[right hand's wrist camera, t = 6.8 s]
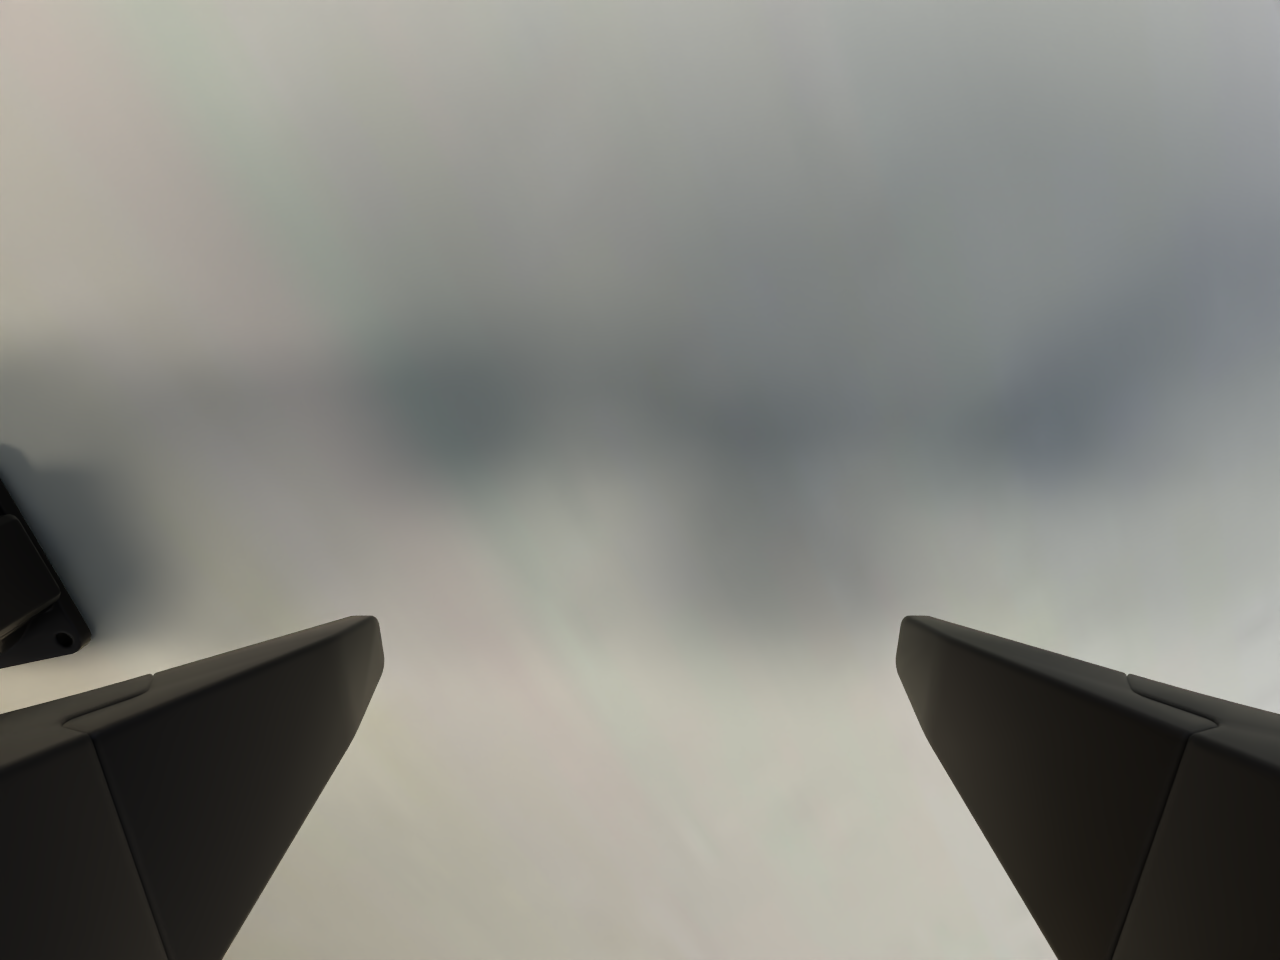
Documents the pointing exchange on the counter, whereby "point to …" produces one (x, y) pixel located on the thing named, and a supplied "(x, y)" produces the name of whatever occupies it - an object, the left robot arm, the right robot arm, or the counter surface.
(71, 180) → the counter surface
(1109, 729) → the right robot arm
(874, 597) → the counter surface
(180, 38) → the counter surface
